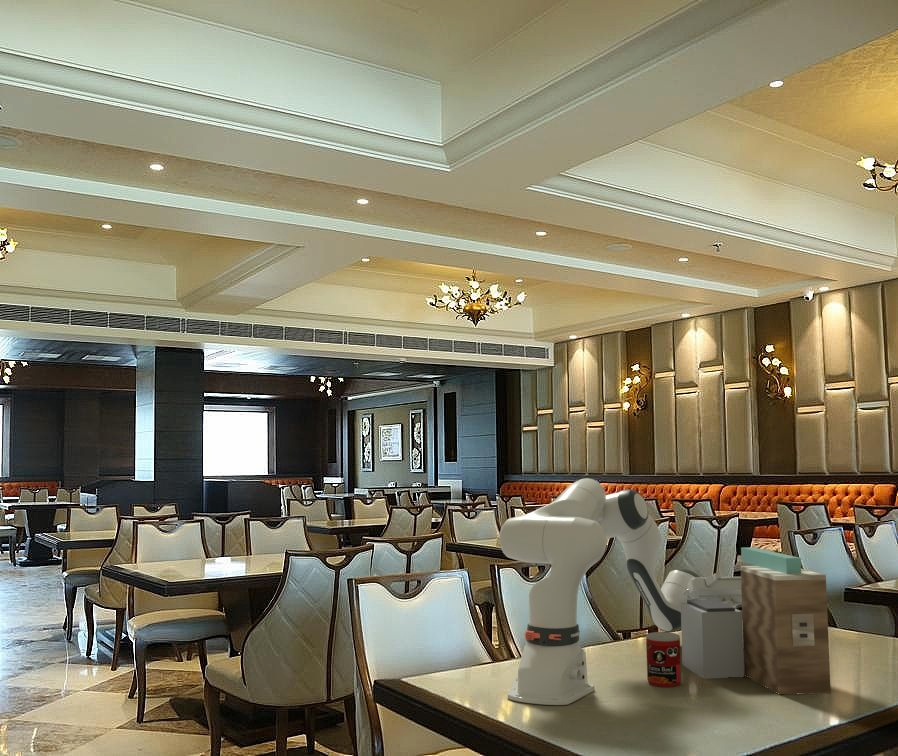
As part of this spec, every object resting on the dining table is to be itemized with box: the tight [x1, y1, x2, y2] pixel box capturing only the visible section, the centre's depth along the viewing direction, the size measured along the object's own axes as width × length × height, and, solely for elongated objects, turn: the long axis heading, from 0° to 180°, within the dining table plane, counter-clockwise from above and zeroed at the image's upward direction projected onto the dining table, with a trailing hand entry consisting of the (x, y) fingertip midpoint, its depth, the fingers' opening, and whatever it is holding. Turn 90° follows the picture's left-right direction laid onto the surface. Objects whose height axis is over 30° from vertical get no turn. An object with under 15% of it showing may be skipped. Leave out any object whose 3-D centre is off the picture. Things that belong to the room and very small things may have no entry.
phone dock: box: [681, 599, 745, 680], centre depth 220 cm, size 14×10×16 cm
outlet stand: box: [740, 565, 832, 695], centre depth 207 cm, size 19×12×26 cm, turn 6°
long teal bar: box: [740, 547, 802, 574], centre depth 215 cm, size 24×4×4 cm, turn 6°
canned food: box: [645, 631, 682, 688], centre depth 208 cm, size 8×8×11 cm
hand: (735, 575), depth 234 cm, fingers open, 8 cm apart
